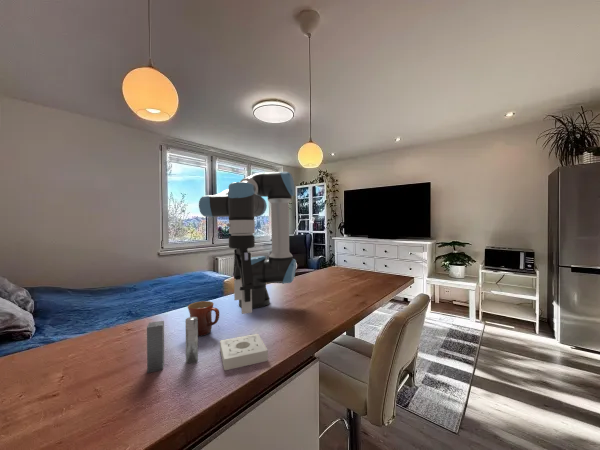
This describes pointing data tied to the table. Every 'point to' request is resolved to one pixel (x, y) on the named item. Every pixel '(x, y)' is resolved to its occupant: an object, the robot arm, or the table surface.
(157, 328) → the square bit
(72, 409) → the table surface
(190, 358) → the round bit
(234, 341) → the bore block
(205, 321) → the mug
